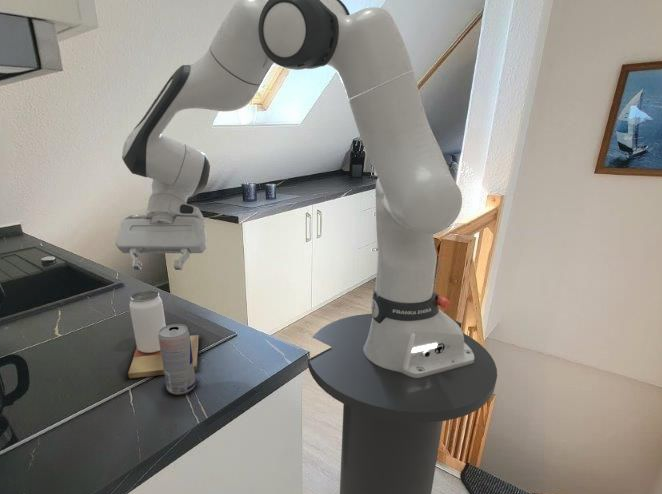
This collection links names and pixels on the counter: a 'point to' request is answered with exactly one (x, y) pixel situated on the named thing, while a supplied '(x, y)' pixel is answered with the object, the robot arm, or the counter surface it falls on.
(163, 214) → the robot arm
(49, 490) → the counter surface
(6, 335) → the counter surface
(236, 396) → the counter surface
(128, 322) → the counter surface
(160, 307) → the can
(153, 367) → the square wooden board
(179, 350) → the energy drink
